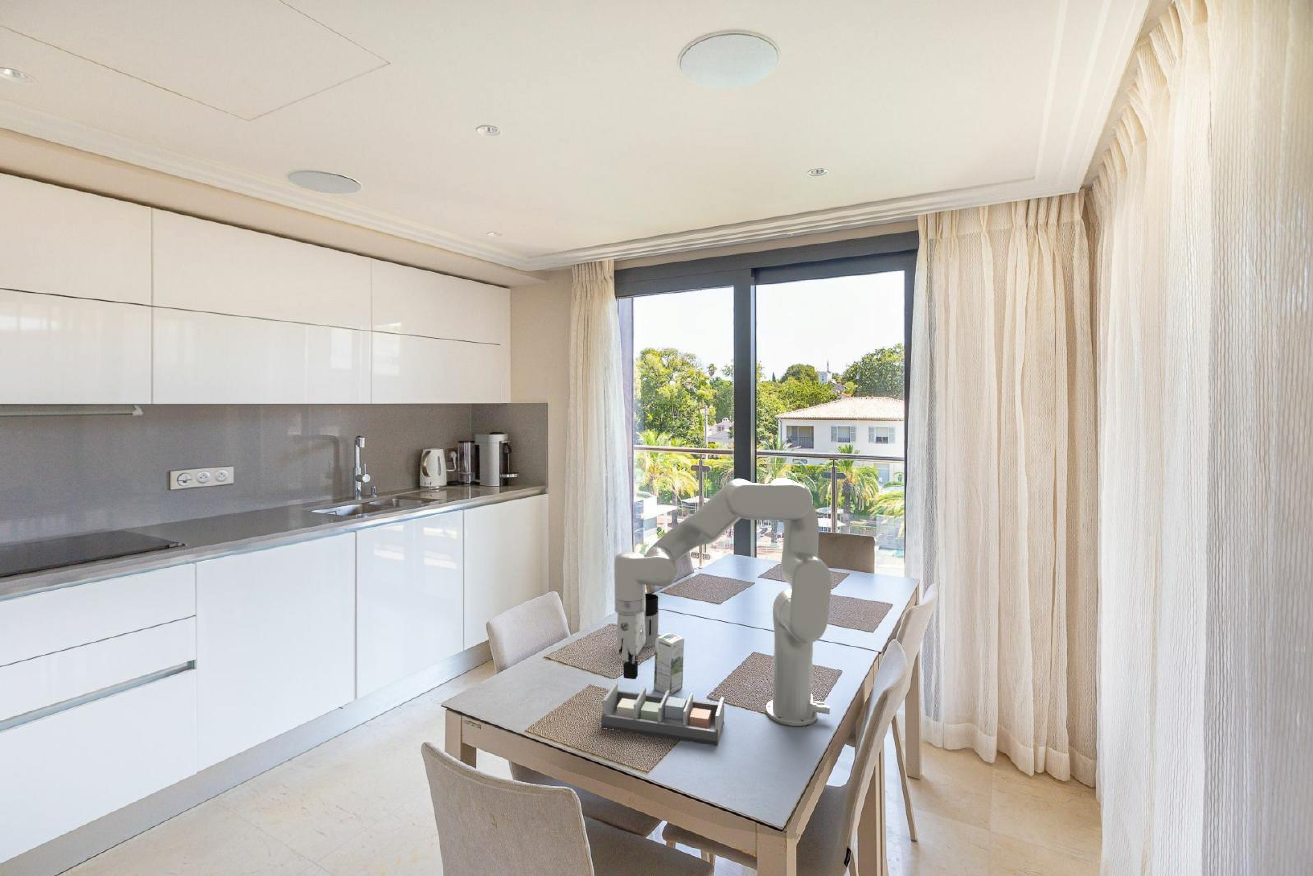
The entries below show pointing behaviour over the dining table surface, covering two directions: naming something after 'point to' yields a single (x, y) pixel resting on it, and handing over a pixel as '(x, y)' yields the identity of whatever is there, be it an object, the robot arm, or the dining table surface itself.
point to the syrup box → (668, 663)
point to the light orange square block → (700, 718)
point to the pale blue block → (675, 708)
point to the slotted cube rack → (662, 718)
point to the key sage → (650, 711)
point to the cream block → (626, 708)
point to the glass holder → (651, 619)
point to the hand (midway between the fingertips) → (630, 677)
